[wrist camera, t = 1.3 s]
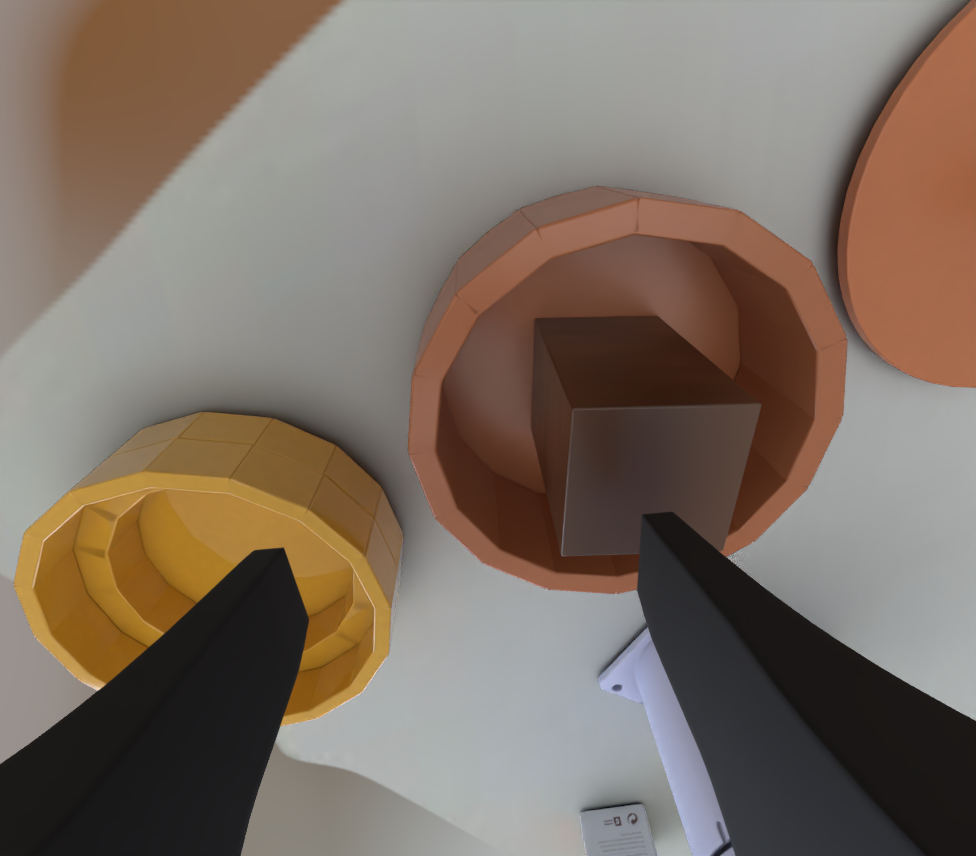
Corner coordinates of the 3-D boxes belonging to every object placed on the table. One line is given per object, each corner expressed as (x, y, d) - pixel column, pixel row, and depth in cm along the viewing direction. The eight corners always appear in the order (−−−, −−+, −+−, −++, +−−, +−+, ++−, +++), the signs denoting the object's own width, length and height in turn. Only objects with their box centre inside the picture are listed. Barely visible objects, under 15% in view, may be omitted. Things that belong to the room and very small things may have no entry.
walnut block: (658, 315, 18) (763, 404, 11) (642, 425, 20) (723, 551, 13) (534, 317, 17) (571, 408, 11) (530, 428, 19) (560, 557, 13)
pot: (827, 305, 18) (943, 354, 14) (622, 543, 23) (660, 636, 18) (536, 105, 15) (565, 85, 11) (368, 428, 20) (341, 507, 15)
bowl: (453, 488, 21) (451, 565, 17) (339, 667, 26) (316, 760, 22) (140, 350, 18) (48, 406, 14) (76, 583, 23) (-7, 674, 19)
